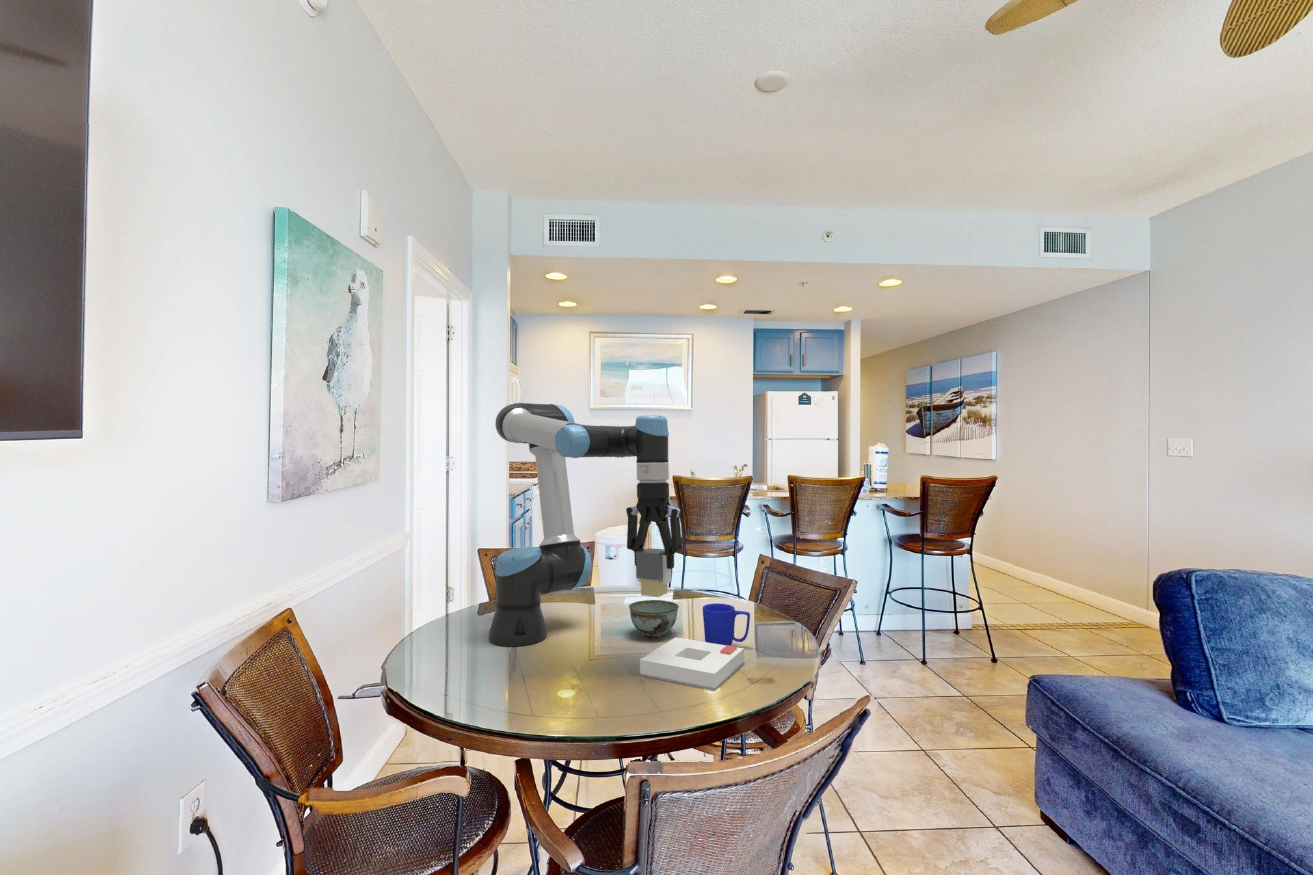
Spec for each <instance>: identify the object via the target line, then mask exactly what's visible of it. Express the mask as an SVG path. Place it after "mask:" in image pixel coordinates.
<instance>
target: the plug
mask: <svg viewBox="0 0 1313 875" xmlns="http://www.w3.org/2000/svg"><path fill="white" fill-rule="evenodd" d="M643 549H644V550H641V551H637V552H636V566H635V574H636V575H635V578H636V579H638V578H641V582H640V595H641V596H646V597H653V598H655V597H656V598H660V597H661V596H664V595H667V594H668V590H669V588H668V583H667V584H663V560H662V555H664V553H665V549H664V548H649V547H648V548H643ZM672 569H673V568H672ZM672 569H671V577H672V574H673V573H672V571H673V570H672Z"/></svg>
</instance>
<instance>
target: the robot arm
mask: <svg viewBox="0 0 1313 875" xmlns="http://www.w3.org/2000/svg"><path fill="white" fill-rule="evenodd" d="M668 426H669V424H668V419H667V417H666V416H664V415H660V414H659V415H658V414H657V415H656V414H655V415H654V414H653V415H652V414H651V415H645V414H644V415H639V416H637V417H636V418H635V425H627V426H625V425H623V426H620V425H589V424H581V423H576V422H575V419H574V416H573V414H572V412H571V411H570V410H569V409H568V408H567V407H565V406H563V405H558V404H554V403H549V404H548V403H547V404H546V403H527V402H526V403H525V402H514V403H511V404H507V405H505V407H503V408H501V410H500V411H499V412H498V413H497V415H496V418H495V430H496V433H497V434H498V435H499V436H500V437H501V438H502V440H505V441H506V442H510V443H513V444H528V452H529V453H530V454H532V455H533V456H534V457H535V465H536V474H537V475H536V476H537V483H538V484H537V485H538V486H537V487H538V494H539V504H540V512H541V524H542V533H543V540H542V541H541V543H539V545H538V546H539V547H537V546H525V547H516V548H513V549H508V550H505V551H503V552H502V553H501V554H499V555H498V557H497V559H496V565H495V566H496V568H495V601H496V602H495V612H494V615H493V619H492V621H491V626H490V627H489V632H488V640H489V642H490V643H492V644H494V645H498V646H503V647H521V646H528V645H533V644H536V643H540V642H542V641H544V640H545V639H547V637H548V626H547V624H546V622H545V618H544V615H543V612H542V609H541V595H547V594H552V593H558V592H563V591H572V590H573V589H579V588H581V587H583V585H585V584H586V583H587V581H588V579H589V577H590V574H591V571H592V559H591V554H590V552H589V550H588V549H587V548H586V547H585V546H583V545H581V539H580V538H579V537H578V536H576V535H575V530H574V523H573V521H574V520H573V515H572V514H573V512H572V504H571V495H570V488H569V487H570V486H569V478H568V470H567V461H566V458H570V459H571V458H572V459H579V458H623V459H624V458H630V457H631V458H632V457H636V462H635V463H636V479H637V481H639V482H637V484H636V498H637V503H636V505H634V506H629V507H626V509H625V511H626V515H627V534H626V548H627V550H631V551H633V553H634V566H635V567H636V552H637V551H641V550H644V549H645V548H644V547H645V543H646V539H647V536H648V531H649V529H650V528H649V527H650V525H651V523H652V522H653V523H655V524H656V525H655V526H656V527H657V528H658V529H657V530H658V532H659V534H660V538H661V542H662V545H663V546H662V547H663V549H665V553H664V555H662V560H663V584H667V585H668V584H669V583H672V576H671V569H674V568H675V554H676V553H679V552H681V551H682V549H683V544H682V534H681V521H680V520H681V519H680V518H681V514H682V509H681V508H680V507H677V508H676V507H673V506H671V503H670V502H669V499H670V484H669V482H667V481H668V480H669V479H670V472H669V471H670V470H669V465H670V464H669V435H670V434H669V433H670V432H669V427H668ZM638 514H639V515H640V519H638ZM667 515H668V516H670V518H669V522H670V528H669V525H668V523H669V522H668V518H667ZM638 520H639V523H638ZM638 525H639V527H638ZM637 582H639V583H641V578H637Z"/></svg>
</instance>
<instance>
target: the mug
mask: <svg viewBox="0 0 1313 875" xmlns="http://www.w3.org/2000/svg"><path fill="white" fill-rule="evenodd" d="M738 615H744V616H746V619H747V620H746V628H745V631H744V632H745V633H744V635H743V637H741V638H736V637H735V625H736V624H735V622H736V617H737V616H738ZM702 617H703V618H702V620H703V630H704V632H703V633H704V634H703V635H704V642H708V643H714V644H720V645H726V646H727V645H730V646H733V645H732V644H733V641H735V642H737V643H742V642H744V641H745V640H746V639H747V637H748V634H749V629H750V621H751V613H750V612H749V611H744V610H736V608H735V607H734V606H733V605H732V604H726V603H716V602H715V603H709V604H705V605H703V606H702Z"/></svg>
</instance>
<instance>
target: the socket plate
mask: <svg viewBox="0 0 1313 875" xmlns="http://www.w3.org/2000/svg"><path fill="white" fill-rule="evenodd" d="M744 664H745V648H744V647H738V646H734V645H731V646H730V645H727V646H726V645H720V644H714V643H708V642H705V641H700V640H694V639H689V638H688V639H687V638H683V637H682V638H681V637H674V638H672V639H670V640H669V641H668V642H665V643H664V644H663V645H661V646H659V647H657V648H656V649H655V650H652V652H649V653H648V654H646V655H644V657H642V658H640V659H639V676H642V677H647V678H652V679H656V680H661V681H666V682H672V683H676V684H679V685H680V684H681V685H686V686H692V687H695V688H701V689H705V690H711V691H716V690H717V689H718V688H719V687H720V686H722V685H723V683H725V681H727V679H729V678H730V677H731V676H732V675H733V674H735V672H736V671H738V670H739V669H740V668H741V667H742V666H744Z"/></svg>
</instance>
